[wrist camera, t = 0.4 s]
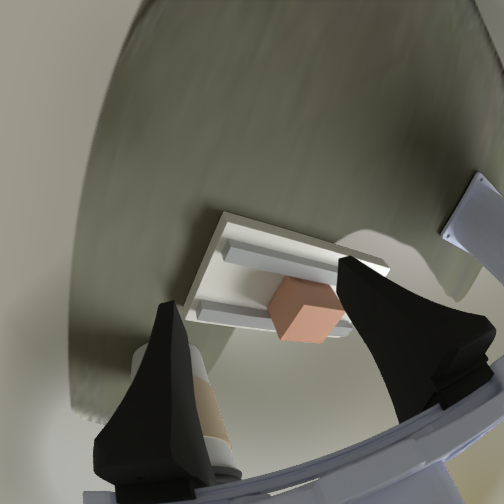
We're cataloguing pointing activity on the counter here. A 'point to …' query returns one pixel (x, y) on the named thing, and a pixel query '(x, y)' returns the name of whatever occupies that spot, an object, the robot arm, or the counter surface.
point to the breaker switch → (304, 310)
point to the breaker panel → (261, 272)
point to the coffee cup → (205, 418)
